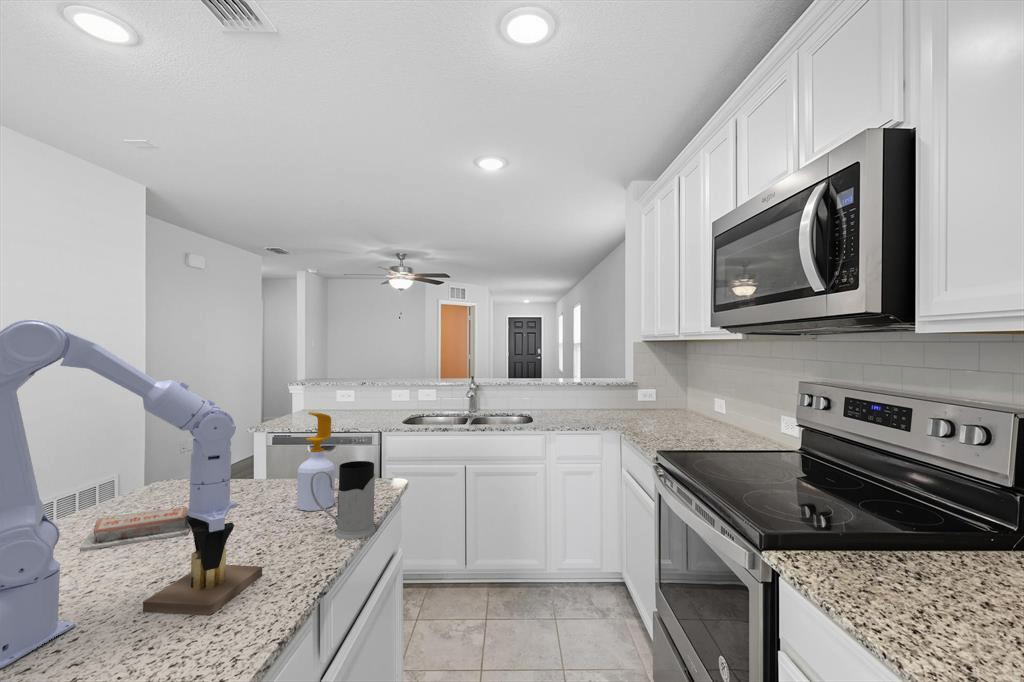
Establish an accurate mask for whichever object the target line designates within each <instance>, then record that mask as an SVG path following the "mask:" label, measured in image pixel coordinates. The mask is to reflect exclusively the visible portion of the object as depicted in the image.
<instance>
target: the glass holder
mask: <svg viewBox="0 0 1024 682" xmlns="http://www.w3.org/2000/svg"><path fill="white" fill-rule="evenodd" d="M338 467H339V468H338V469H339V471H338V473H339V474H338V487H337V488H335V487H334V488H333V487H332V478H331V476H330V474H329V473H327V472H326V471H319V472H316V473H315V474H314V475H313V476H312V478H311V492H312V496H313V498H314V500H315V502H316V504H317V505H318V506H319V507H320V508H321V509H322V510H321V511H323V512H324V513H326V514H327V515H329V516H330V517H331V518H332V519H333V520H334V521H335V525H336V530H335V532H334V536H335V537H336V538H338V539H342V540H360V539H365V538H367V537H370V536H372V535H374V534H375V532H376V530H377V529H376V527H375V521H374V520H375V487H376V486H375V485H376V484H375V482H376V481H375V478H376V477H375V476H376V475H375V474H376V473H375V462H372V461H369V460H368V461H367V460H355V461H347V462H343V463H340V464H339V466H338ZM318 473H325V474H326V475H327V476H328V477H329V479H330V488H331V489H332V490H334V492H335V491H337V514H336V515H337V517H336V516H335V515H334V514H332V513H331V512H330V511H329V510H327V509H325V508H324V507H323V506H321V504H320V503H319V502H318V501H317V499H316V497H315V495H314V491H313V478H314V476H315V475H316V474H318Z"/></svg>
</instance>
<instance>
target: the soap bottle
mask: <svg viewBox="0 0 1024 682" xmlns="http://www.w3.org/2000/svg"><path fill="white" fill-rule="evenodd" d="M308 415H311V416H313V417H316V418H317V432H316V433H317V434H316V435H315V436H310V437H307V438H306V439H305V440H306V442H307V441H308V442H309V441H310V442H311V444H313V448H310V450H309V458H307V460H305V461H303V462H302V463H301V464H300V465H299V466H298V469H297V477H296V478H297V479H296V480H297V481H296V482H297V484H296V486H297V487H296V488H297V489H296V508H297V509H298V510H299V509H300V511H302V510H306V511H305V512H314V511H313V510H319V511H323V510H322V509H321V508H320V507H319V506H318V505H317V504H316V502H315V500H314V498H313V496H312V492H311V478H312V476H313V475H314V474H315V473H316V472H319V471H326V472H327V473H329V474H330V476H331V478H332V487H333V488H335V486H336V485H335V483H336V481H335V480H336V479H335V478H336V477H335V476H336V468H335V467H336V466H335V464H334V462H333V461H331V460H330V459H328V458H326V457H325V455H324V454H325V453H324V452H325V449H324V448H323V447H321V446H322V445H321V444H324V443H323V442H324V441H325V440H329V439H330V438H331V436H332V417H331V416H330V414H326V413H322V412H308ZM313 491H314V495H315V497H316V499H317V501H318V502H319V503H320V504H321V506H323V507H324V508H325V509H326V508H327V509H329V508H331V507H333V505H334V504H335V490H332V489H331V488H330V479H329V477H328V476H327V475H326V474H325V473H318V474H316V475H315V476H314V478H313ZM327 509H326V510H327Z"/></svg>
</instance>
